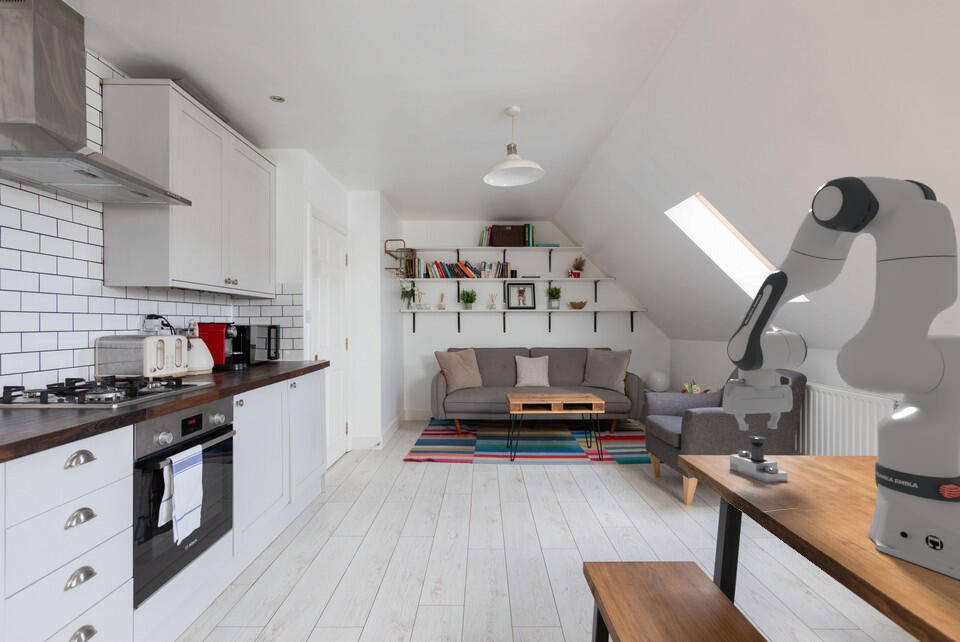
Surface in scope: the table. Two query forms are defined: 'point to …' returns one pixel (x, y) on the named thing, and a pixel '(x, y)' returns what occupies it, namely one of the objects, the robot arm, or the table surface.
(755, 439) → the pin
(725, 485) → the table surface
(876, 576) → the table surface
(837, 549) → the table surface
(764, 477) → the slotted ball-knob block
